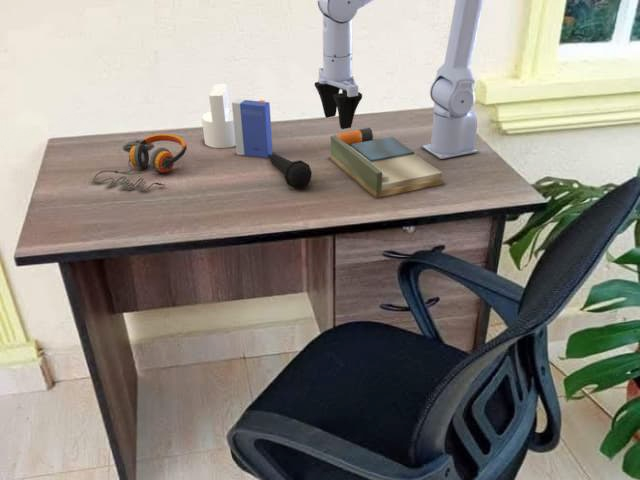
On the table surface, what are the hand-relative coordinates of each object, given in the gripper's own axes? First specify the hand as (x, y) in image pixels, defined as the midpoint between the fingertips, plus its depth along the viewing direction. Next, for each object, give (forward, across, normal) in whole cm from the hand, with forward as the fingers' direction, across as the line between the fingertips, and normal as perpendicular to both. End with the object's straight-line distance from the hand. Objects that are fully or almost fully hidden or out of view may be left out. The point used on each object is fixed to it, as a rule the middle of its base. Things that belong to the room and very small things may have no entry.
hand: (337, 122), depth 137 cm
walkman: (+10, -15, -14) cm, 23 cm away
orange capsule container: (+10, -11, +9) cm, 17 cm away
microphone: (+10, -1, -11) cm, 15 cm away
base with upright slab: (+10, -26, -18) cm, 33 cm away
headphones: (+10, -15, -38) cm, 42 cm away
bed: (+10, +6, +8) cm, 14 cm away
